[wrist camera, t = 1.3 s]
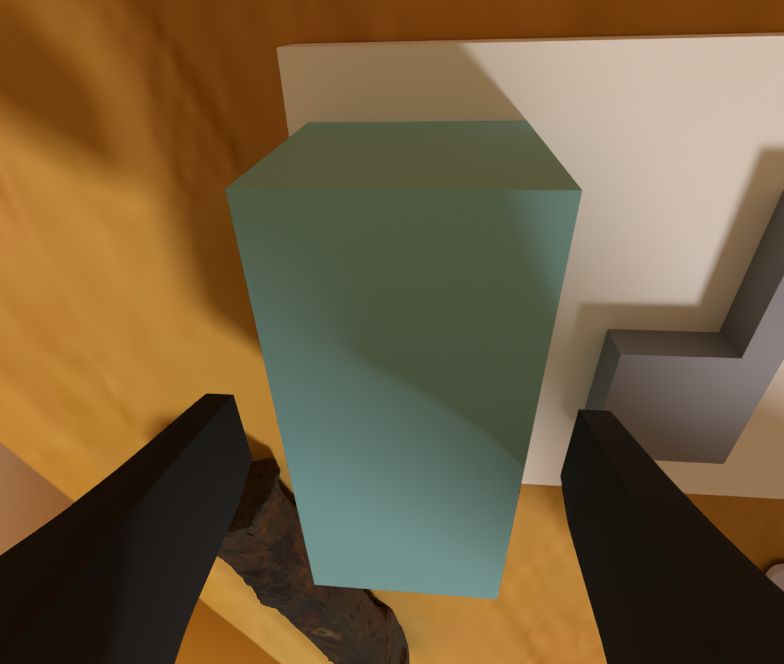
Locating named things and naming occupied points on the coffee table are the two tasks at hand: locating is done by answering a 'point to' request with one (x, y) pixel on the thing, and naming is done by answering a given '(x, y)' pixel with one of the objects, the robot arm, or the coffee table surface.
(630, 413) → the mark chip
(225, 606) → the coffee table surface
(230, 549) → the hand tool
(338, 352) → the block
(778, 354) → the mark chip
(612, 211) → the board
